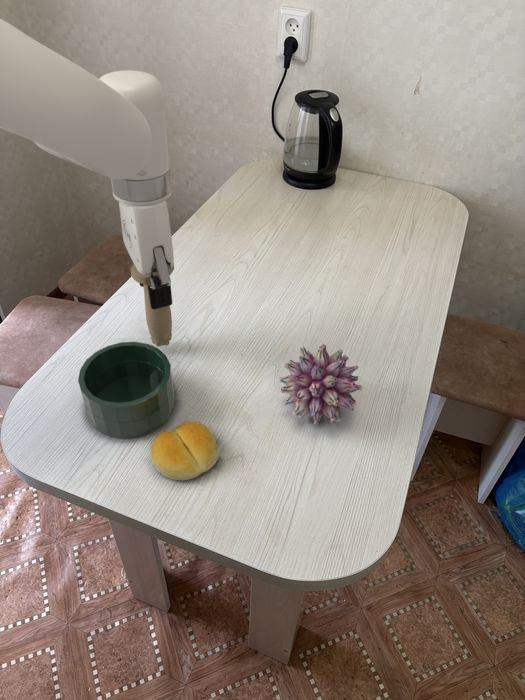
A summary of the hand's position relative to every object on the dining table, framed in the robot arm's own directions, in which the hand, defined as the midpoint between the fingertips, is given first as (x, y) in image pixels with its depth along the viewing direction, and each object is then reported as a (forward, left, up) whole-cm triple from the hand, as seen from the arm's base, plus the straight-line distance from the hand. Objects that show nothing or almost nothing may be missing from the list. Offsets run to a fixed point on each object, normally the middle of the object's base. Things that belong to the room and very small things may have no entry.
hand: (155, 293), depth 77 cm
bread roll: (-3, -22, -12) cm, 25 cm away
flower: (+17, -22, -12) cm, 30 cm away
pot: (-8, -10, -11) cm, 17 cm away
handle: (0, 0, -10) cm, 10 cm away
